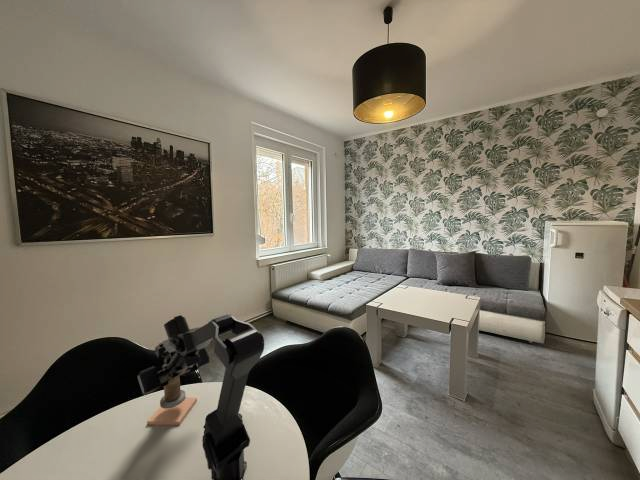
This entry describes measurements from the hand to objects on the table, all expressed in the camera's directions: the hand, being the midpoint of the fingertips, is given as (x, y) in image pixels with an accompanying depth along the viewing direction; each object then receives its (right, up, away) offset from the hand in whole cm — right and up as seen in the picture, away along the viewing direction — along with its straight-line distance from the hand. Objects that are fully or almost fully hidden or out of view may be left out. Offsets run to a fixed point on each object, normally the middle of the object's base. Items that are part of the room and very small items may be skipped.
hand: (169, 379), depth 80 cm
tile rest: (+1, -11, 0) cm, 11 cm away
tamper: (+1, -7, 0) cm, 7 cm away
